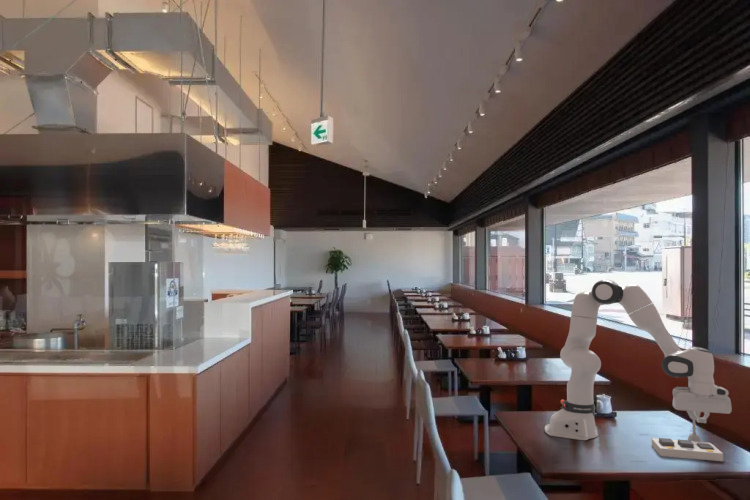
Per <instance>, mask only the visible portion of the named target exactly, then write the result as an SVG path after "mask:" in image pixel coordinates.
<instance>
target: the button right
mask: <svg viewBox="0 0 750 500" xmlns="http://www.w3.org/2000/svg"><path fill="white" fill-rule="evenodd" d="M697 446H698V447H699V448H700V449H710V450H714V448H713V447H712V446H711V445H710V444H703V443H697Z"/></svg>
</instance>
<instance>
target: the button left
mask: <svg viewBox="0 0 750 500" xmlns="http://www.w3.org/2000/svg"><path fill="white" fill-rule="evenodd" d="M658 439H659V443H660V444H661V445H662V446H674V442H673V441H672V440H673V439H672V438H666V437H665V438H663V437H659V438H658Z"/></svg>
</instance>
